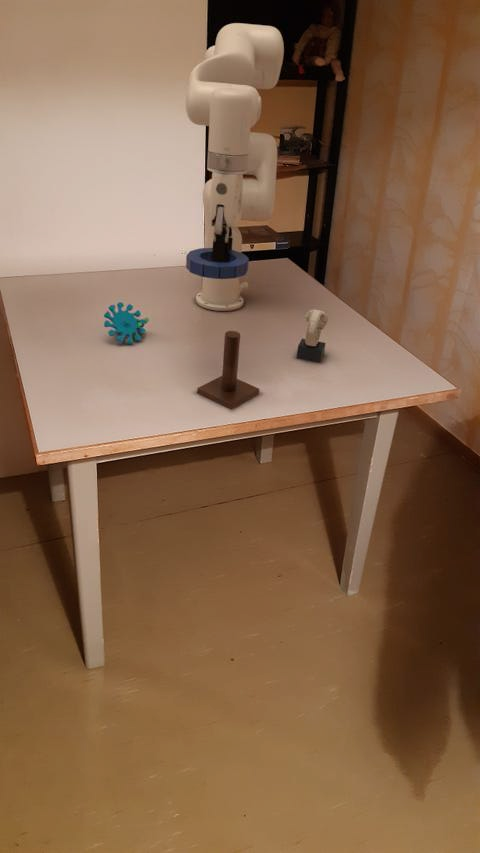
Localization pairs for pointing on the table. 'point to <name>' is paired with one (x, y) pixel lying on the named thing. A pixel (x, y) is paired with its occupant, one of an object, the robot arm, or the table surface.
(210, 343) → the table surface
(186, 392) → the table surface
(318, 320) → the ram head statue
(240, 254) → the ring
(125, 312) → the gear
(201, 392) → the stand
